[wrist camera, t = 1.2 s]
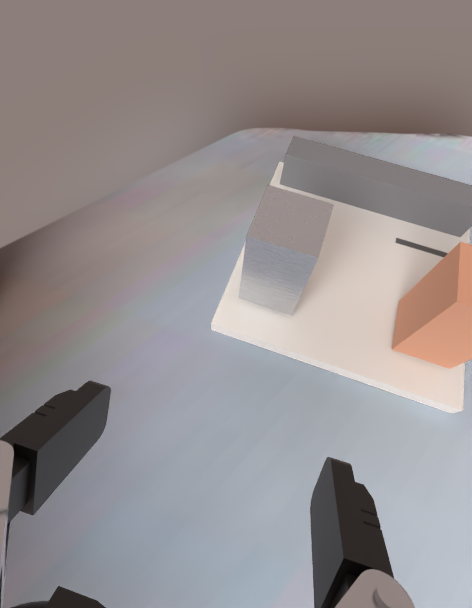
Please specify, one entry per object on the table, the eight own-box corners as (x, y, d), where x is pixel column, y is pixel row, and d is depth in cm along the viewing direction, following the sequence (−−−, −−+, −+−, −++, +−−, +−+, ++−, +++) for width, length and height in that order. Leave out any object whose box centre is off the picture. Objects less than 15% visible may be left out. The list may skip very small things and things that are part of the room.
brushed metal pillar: (291, 315, 31) (318, 257, 23) (238, 298, 31) (246, 235, 23) (305, 271, 33) (334, 204, 25) (255, 255, 33) (268, 184, 25)
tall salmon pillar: (450, 368, 29) (539, 327, 21) (391, 349, 30) (457, 301, 22) (453, 318, 31) (534, 263, 23) (398, 301, 32) (460, 241, 24)
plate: (451, 413, 29) (498, 400, 24) (211, 329, 32) (210, 302, 27) (462, 225, 39) (497, 189, 34) (277, 171, 41) (285, 130, 37)
